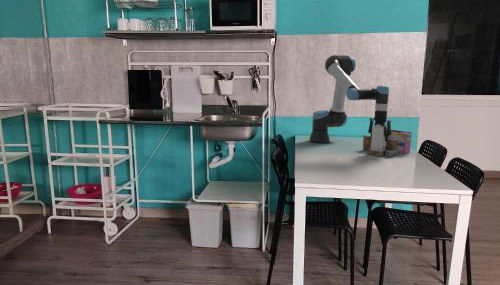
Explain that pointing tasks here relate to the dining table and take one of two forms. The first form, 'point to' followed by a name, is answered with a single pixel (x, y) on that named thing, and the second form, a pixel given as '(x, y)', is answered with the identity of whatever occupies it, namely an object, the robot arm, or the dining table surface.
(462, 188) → the dining table surface
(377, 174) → the dining table surface
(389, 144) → the walnut shelf
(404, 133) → the gum box
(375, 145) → the milk carton
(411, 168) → the dining table surface
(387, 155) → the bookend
